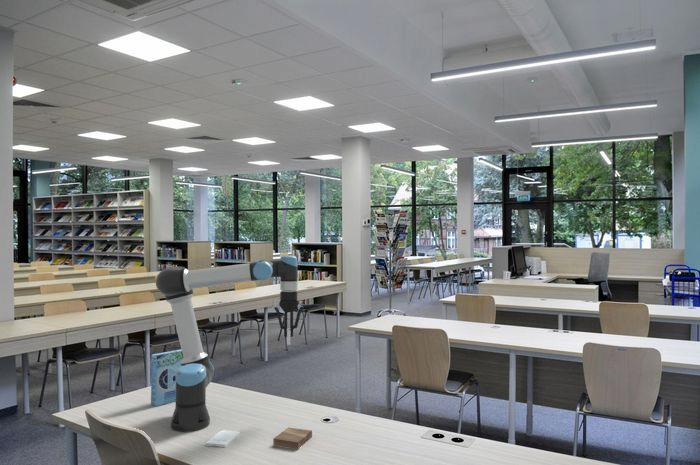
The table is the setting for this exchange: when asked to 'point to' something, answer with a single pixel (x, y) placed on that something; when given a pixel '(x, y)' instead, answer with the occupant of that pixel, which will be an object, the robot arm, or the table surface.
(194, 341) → the robot arm
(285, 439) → the walnut tile
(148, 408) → the table surface
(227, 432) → the external hard drive
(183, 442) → the table surface
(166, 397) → the gum box
